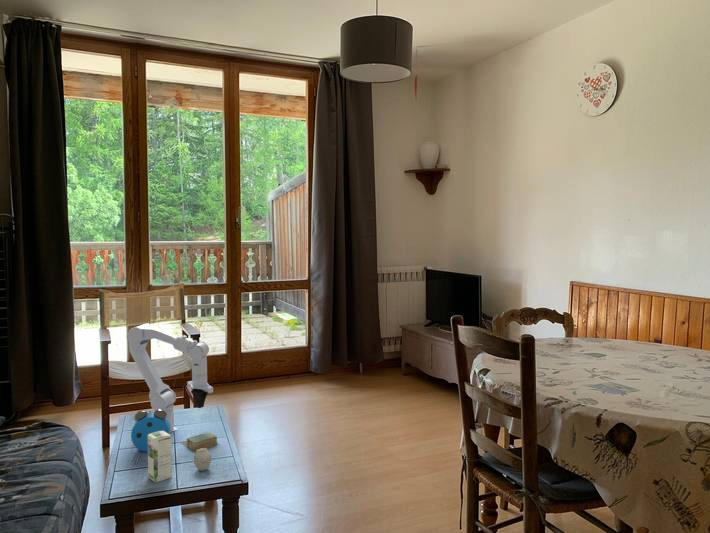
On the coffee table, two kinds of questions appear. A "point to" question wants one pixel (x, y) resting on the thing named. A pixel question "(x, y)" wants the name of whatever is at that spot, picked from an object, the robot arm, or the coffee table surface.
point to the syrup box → (159, 456)
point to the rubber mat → (191, 449)
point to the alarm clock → (148, 427)
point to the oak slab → (201, 441)
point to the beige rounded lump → (202, 459)
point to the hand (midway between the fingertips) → (200, 407)
